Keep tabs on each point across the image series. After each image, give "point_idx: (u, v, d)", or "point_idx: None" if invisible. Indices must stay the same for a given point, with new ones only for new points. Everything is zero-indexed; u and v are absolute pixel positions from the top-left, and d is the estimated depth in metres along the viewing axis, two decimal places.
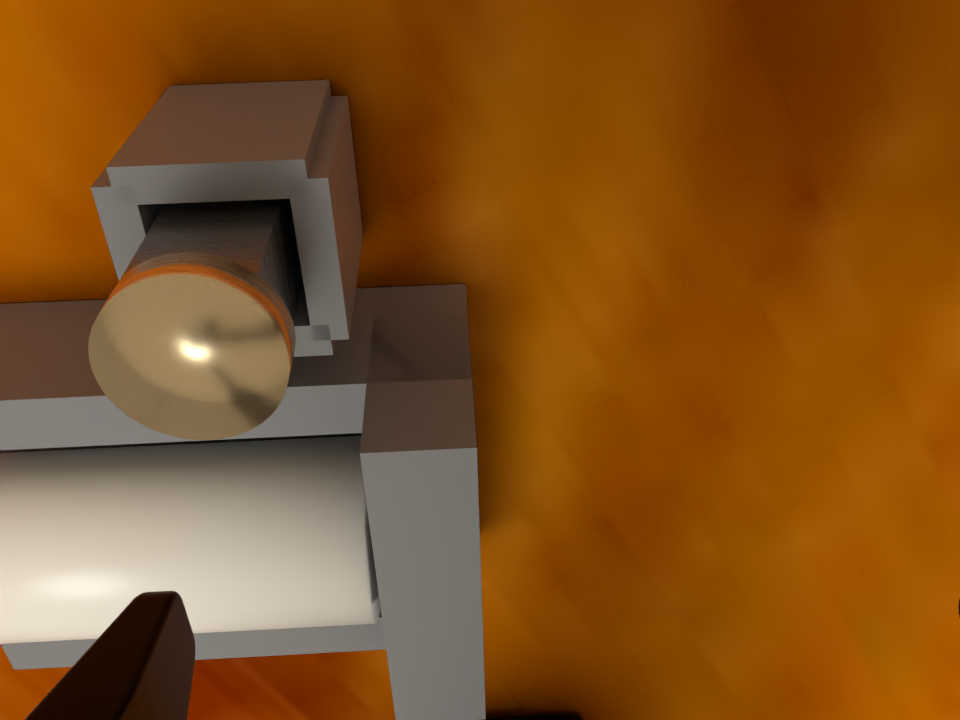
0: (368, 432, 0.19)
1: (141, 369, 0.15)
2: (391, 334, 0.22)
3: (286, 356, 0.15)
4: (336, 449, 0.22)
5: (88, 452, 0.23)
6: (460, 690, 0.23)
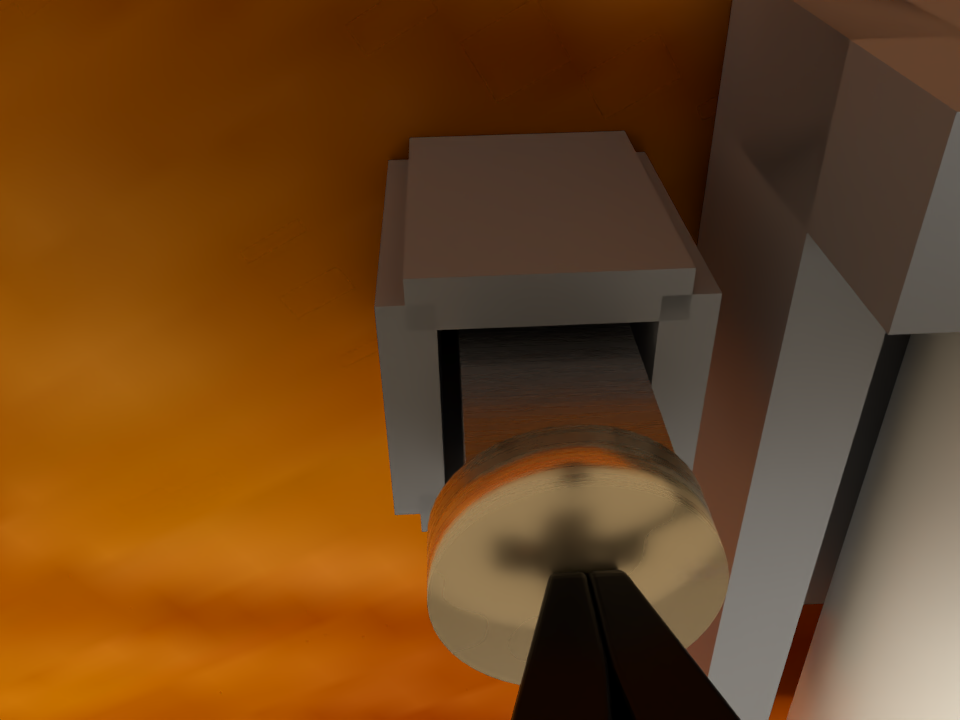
0: (865, 291, 0.10)
1: None
2: (764, 138, 0.13)
3: (576, 487, 0.09)
4: None
5: (842, 550, 0.17)
6: None
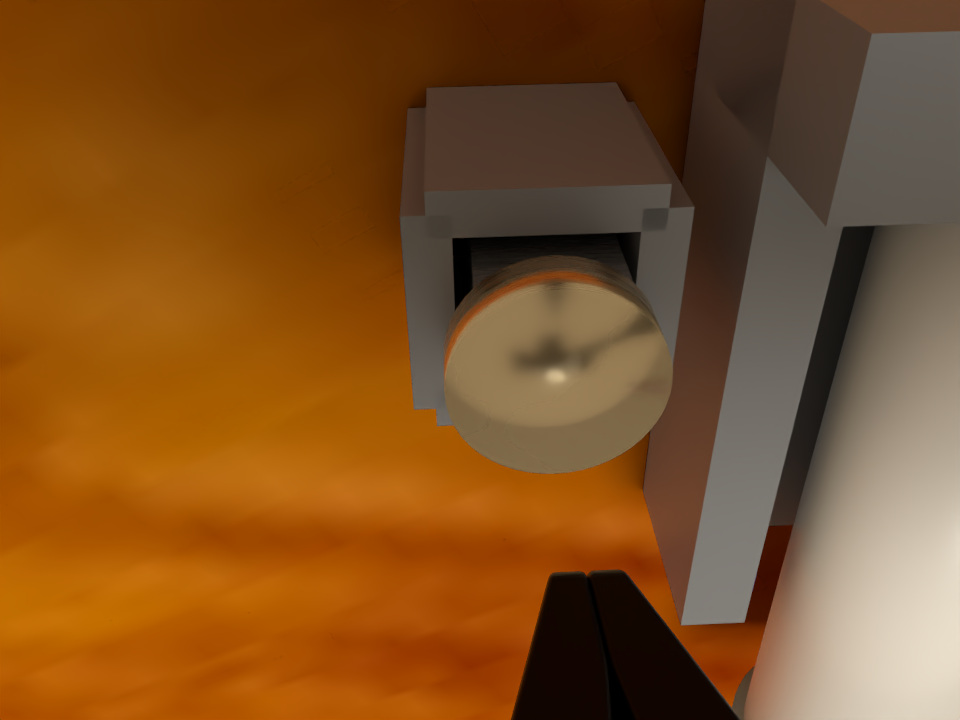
0: (810, 195, 0.12)
1: (558, 433, 0.13)
2: (735, 82, 0.15)
3: (556, 290, 0.12)
4: None
5: (811, 462, 0.19)
6: None
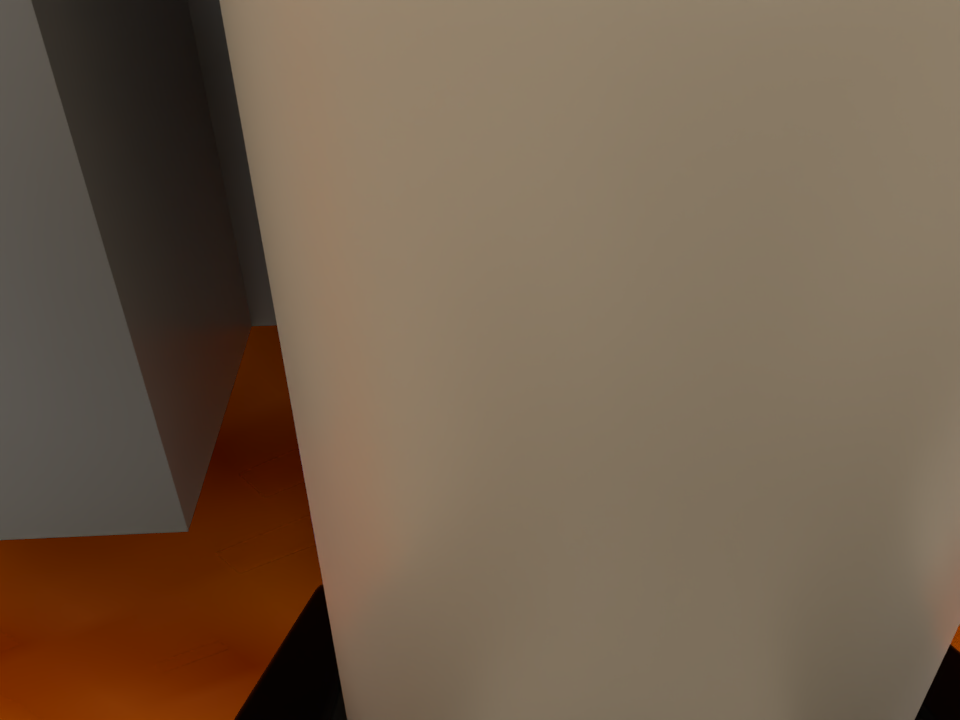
0: None
1: None
2: None
3: None
4: None
5: None
6: None
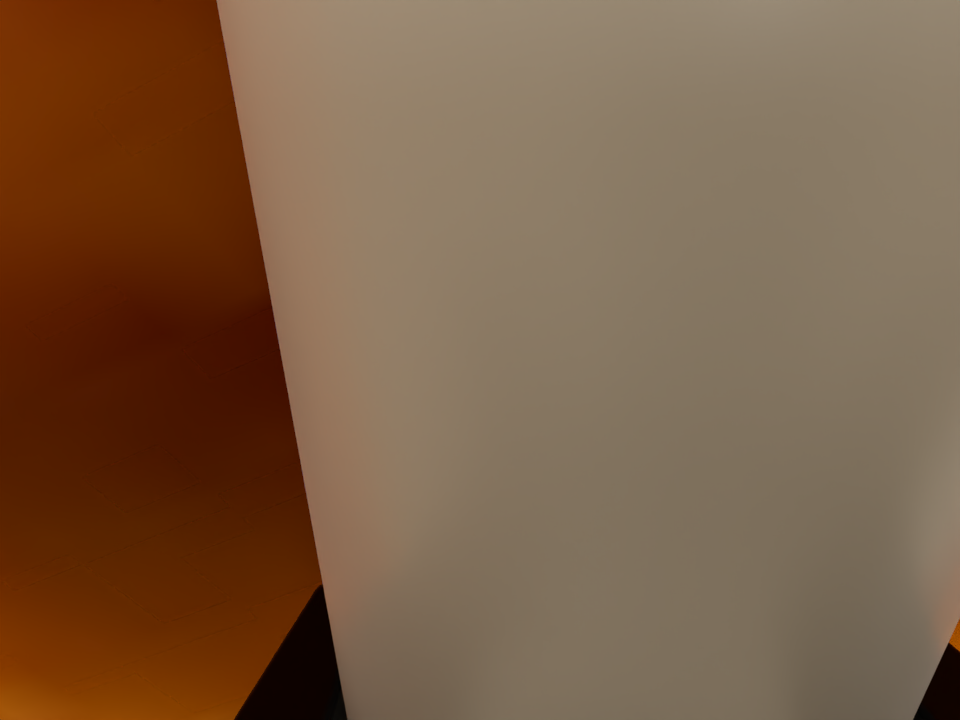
0: None
1: None
2: None
3: None
4: None
5: None
6: None
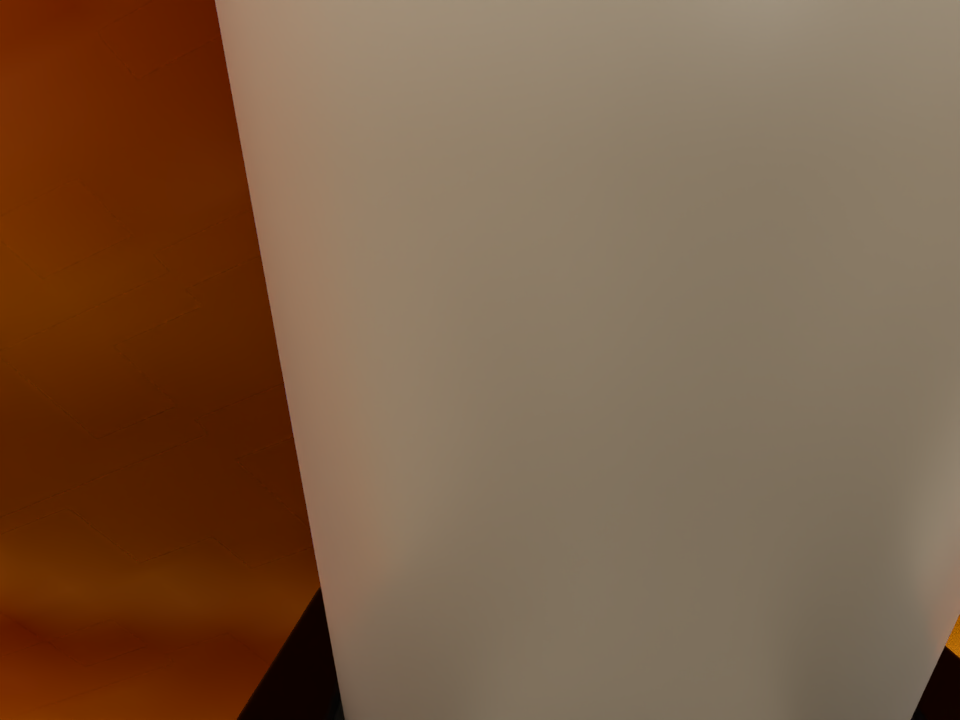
0: None
1: None
2: None
3: None
4: None
5: None
6: None
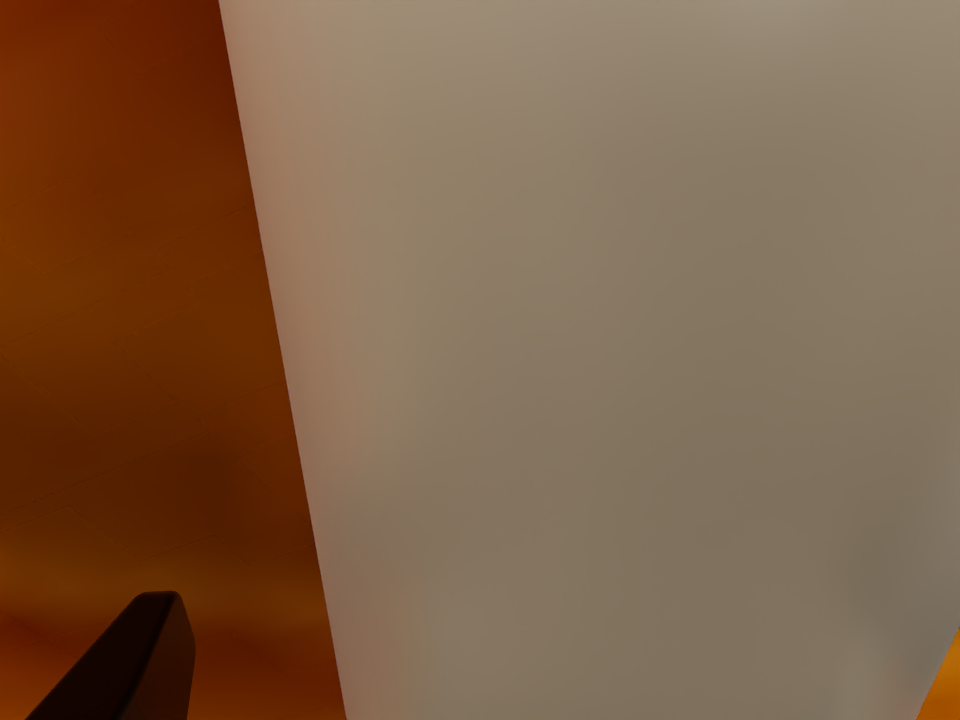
0: None
1: None
2: None
3: None
4: None
5: None
6: None
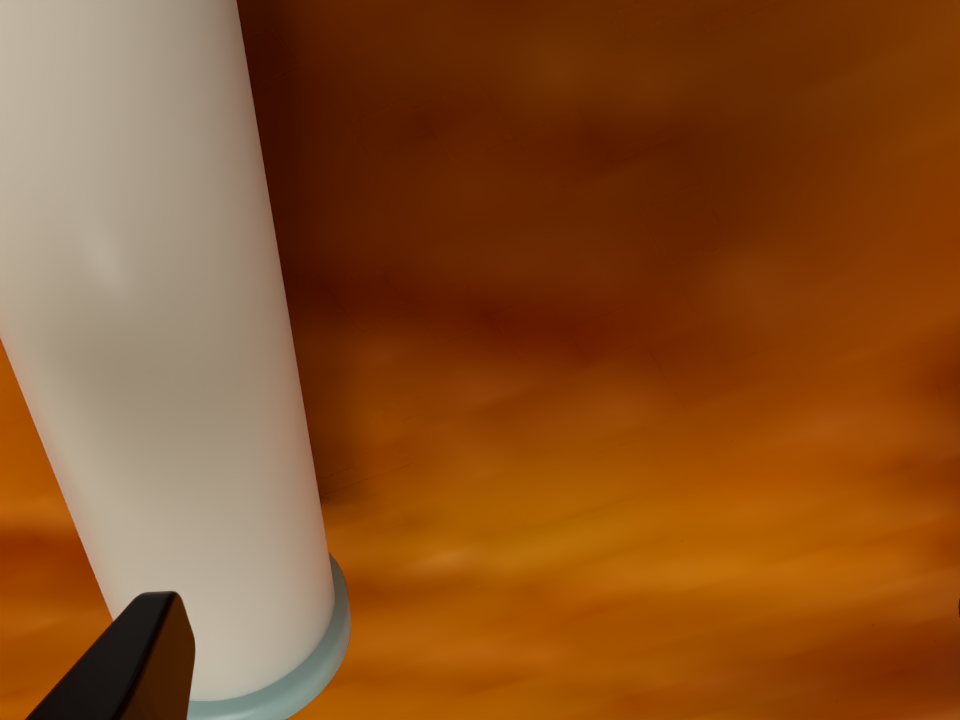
0: None
1: None
2: None
3: None
4: None
5: None
6: None
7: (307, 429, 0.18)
